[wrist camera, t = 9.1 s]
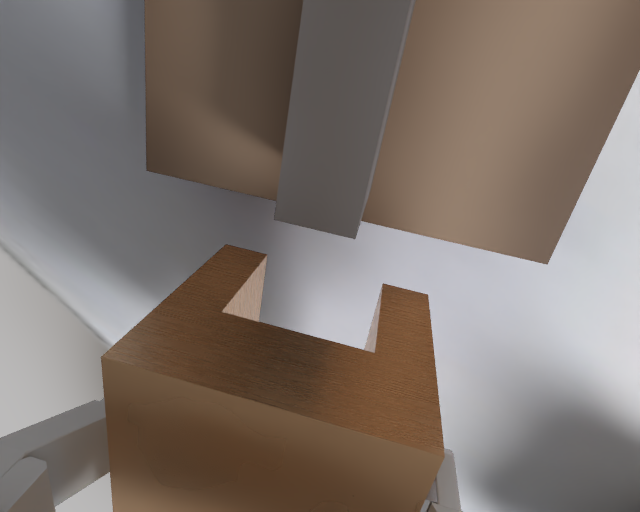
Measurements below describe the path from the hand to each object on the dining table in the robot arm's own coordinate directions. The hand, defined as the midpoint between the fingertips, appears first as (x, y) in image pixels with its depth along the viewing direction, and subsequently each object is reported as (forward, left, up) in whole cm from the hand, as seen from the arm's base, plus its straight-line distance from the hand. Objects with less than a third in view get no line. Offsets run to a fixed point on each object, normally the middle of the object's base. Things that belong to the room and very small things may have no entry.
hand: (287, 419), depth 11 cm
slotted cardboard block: (0, 0, -2) cm, 2 cm away
